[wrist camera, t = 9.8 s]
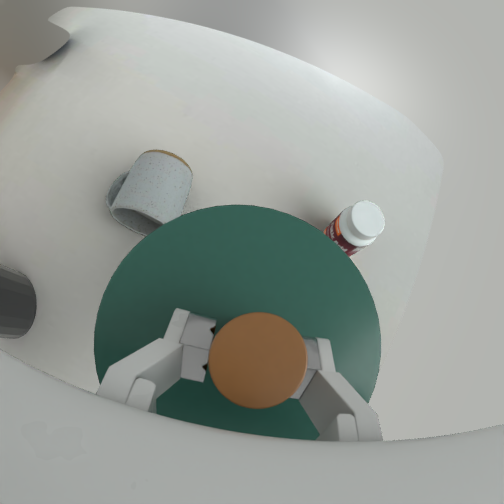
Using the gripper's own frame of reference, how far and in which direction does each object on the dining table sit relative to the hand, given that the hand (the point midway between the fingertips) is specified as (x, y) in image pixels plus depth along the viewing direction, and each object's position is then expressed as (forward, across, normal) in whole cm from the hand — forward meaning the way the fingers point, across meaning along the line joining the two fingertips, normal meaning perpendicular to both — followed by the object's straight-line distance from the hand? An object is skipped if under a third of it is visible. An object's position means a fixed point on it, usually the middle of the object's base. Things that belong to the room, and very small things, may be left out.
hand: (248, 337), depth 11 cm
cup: (+13, +29, +20) cm, 37 cm away
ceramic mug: (+26, +13, +8) cm, 30 cm away
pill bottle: (+26, -11, +7) cm, 30 cm away
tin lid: (+1, 0, +2) cm, 2 cm away
